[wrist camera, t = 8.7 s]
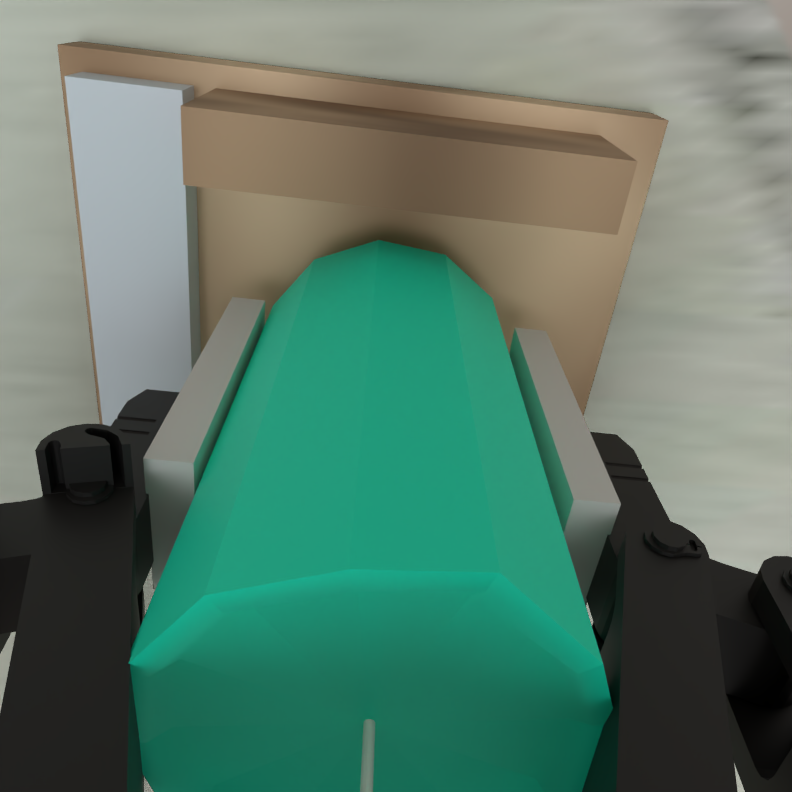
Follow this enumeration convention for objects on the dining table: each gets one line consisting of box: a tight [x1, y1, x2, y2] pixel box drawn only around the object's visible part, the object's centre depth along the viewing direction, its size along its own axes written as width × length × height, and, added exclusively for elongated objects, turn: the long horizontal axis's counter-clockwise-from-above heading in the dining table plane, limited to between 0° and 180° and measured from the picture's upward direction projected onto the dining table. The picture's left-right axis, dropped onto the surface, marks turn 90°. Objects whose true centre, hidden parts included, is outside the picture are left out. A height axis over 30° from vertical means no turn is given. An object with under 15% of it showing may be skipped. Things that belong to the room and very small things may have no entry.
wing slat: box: [65, 72, 201, 426], centre depth 18 cm, size 2×11×1 cm, turn 174°
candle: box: [128, 240, 613, 792], centre depth 12 cm, size 6×6×12 cm
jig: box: [58, 42, 668, 424], centre depth 18 cm, size 14×12×4 cm
